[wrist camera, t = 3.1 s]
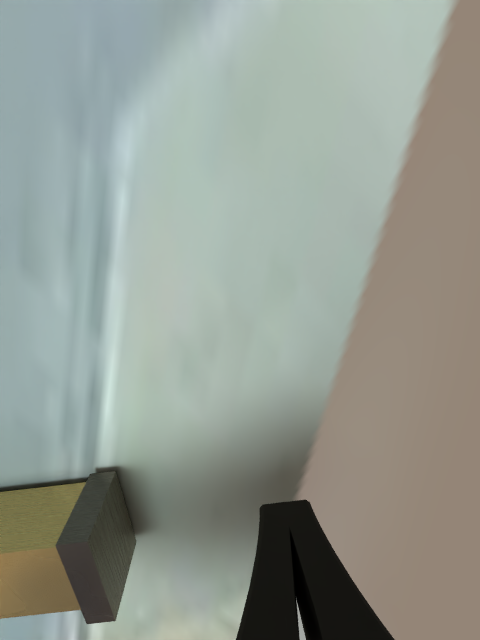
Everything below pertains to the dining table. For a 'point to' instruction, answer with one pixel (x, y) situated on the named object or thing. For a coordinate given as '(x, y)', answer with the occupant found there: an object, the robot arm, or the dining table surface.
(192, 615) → the dining table surface
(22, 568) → the key
